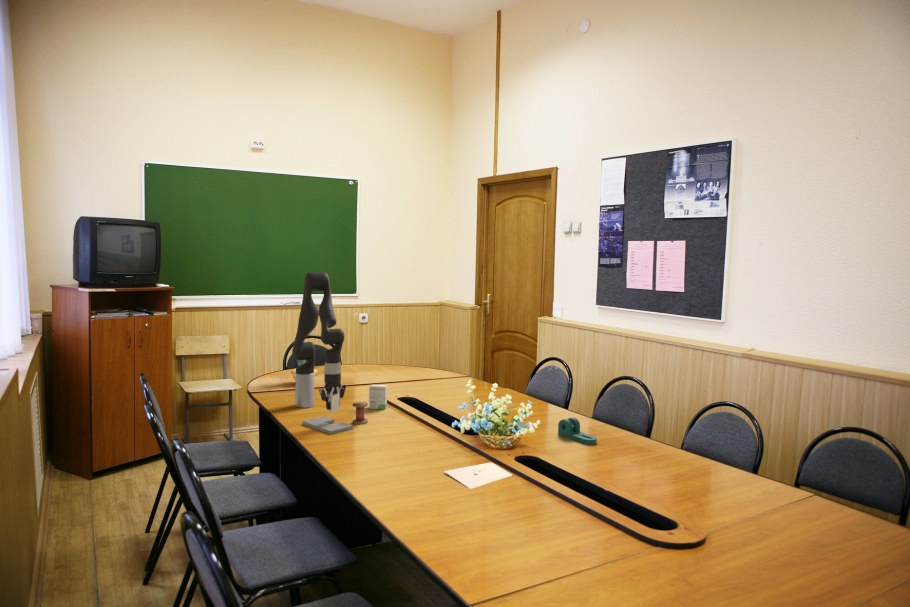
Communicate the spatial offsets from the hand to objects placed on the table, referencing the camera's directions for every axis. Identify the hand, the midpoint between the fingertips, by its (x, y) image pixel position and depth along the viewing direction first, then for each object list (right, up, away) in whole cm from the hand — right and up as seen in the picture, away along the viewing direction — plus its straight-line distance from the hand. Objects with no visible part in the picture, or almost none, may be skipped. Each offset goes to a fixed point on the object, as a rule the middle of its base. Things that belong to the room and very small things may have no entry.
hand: (332, 408), depth 276 cm
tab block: (0, -1, 0) cm, 1 cm away
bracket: (+111, -11, -14) cm, 112 cm away
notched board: (-2, -8, -2) cm, 8 cm away
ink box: (+17, -6, +33) cm, 37 cm away
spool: (+12, -8, +6) cm, 15 cm away
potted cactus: (-35, 0, +86) cm, 93 cm away
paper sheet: (+68, -15, -63) cm, 94 cm away
